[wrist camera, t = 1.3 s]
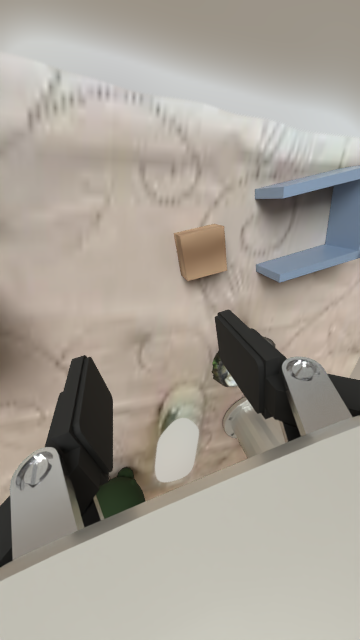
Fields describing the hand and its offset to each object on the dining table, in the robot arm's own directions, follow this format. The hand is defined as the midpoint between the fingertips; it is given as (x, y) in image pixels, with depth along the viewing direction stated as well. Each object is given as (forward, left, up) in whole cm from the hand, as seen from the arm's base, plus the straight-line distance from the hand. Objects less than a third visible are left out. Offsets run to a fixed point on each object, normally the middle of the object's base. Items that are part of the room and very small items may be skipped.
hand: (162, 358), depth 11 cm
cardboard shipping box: (0, -8, -18) cm, 20 cm away
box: (0, -22, -18) cm, 28 cm away
